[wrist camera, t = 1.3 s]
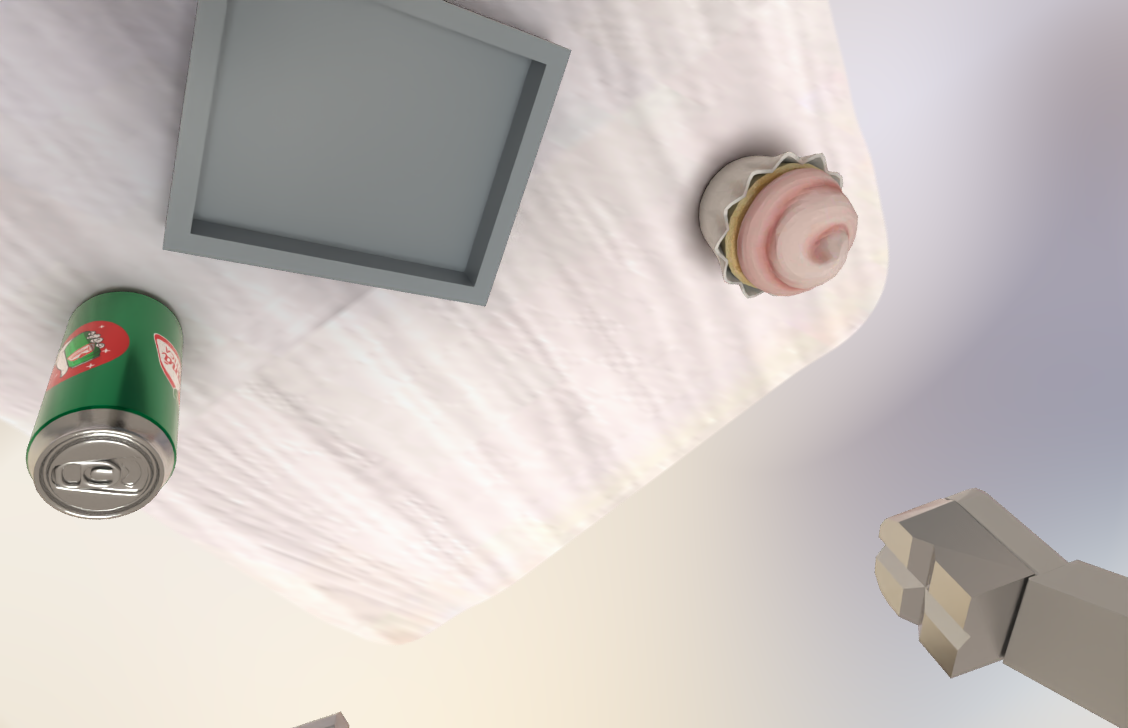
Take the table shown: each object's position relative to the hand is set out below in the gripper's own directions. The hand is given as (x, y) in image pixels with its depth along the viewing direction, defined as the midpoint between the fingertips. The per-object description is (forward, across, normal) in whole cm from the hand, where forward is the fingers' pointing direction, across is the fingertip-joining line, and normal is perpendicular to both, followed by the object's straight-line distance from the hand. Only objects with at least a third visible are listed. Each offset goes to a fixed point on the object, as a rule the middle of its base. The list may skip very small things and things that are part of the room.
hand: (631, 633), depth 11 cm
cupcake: (+35, -20, +11) cm, 42 cm away
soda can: (+32, +16, +7) cm, 36 cm away
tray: (+33, +2, 0) cm, 33 cm away
